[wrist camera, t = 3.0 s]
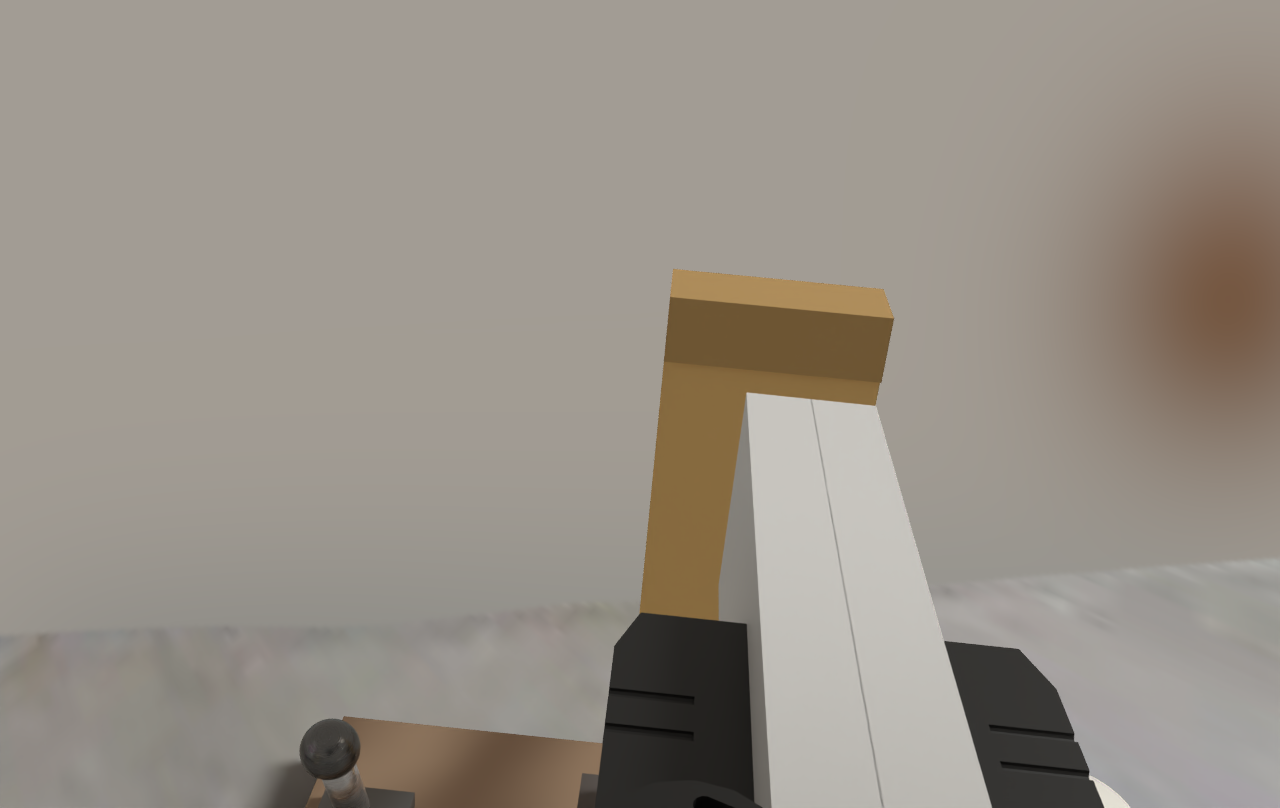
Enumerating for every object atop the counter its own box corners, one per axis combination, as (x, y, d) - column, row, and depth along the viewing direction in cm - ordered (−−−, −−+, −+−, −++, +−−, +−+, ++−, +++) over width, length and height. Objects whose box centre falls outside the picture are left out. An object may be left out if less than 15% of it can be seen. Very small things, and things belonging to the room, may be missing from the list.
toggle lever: (387, 789, 34) (362, 712, 30) (374, 841, 33) (347, 768, 29) (335, 783, 34) (304, 705, 30) (321, 836, 33) (286, 762, 29)
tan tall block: (779, 834, 35) (883, 289, 26) (782, 882, 33) (894, 318, 25) (619, 817, 35) (673, 269, 27) (615, 864, 33) (669, 297, 25)
